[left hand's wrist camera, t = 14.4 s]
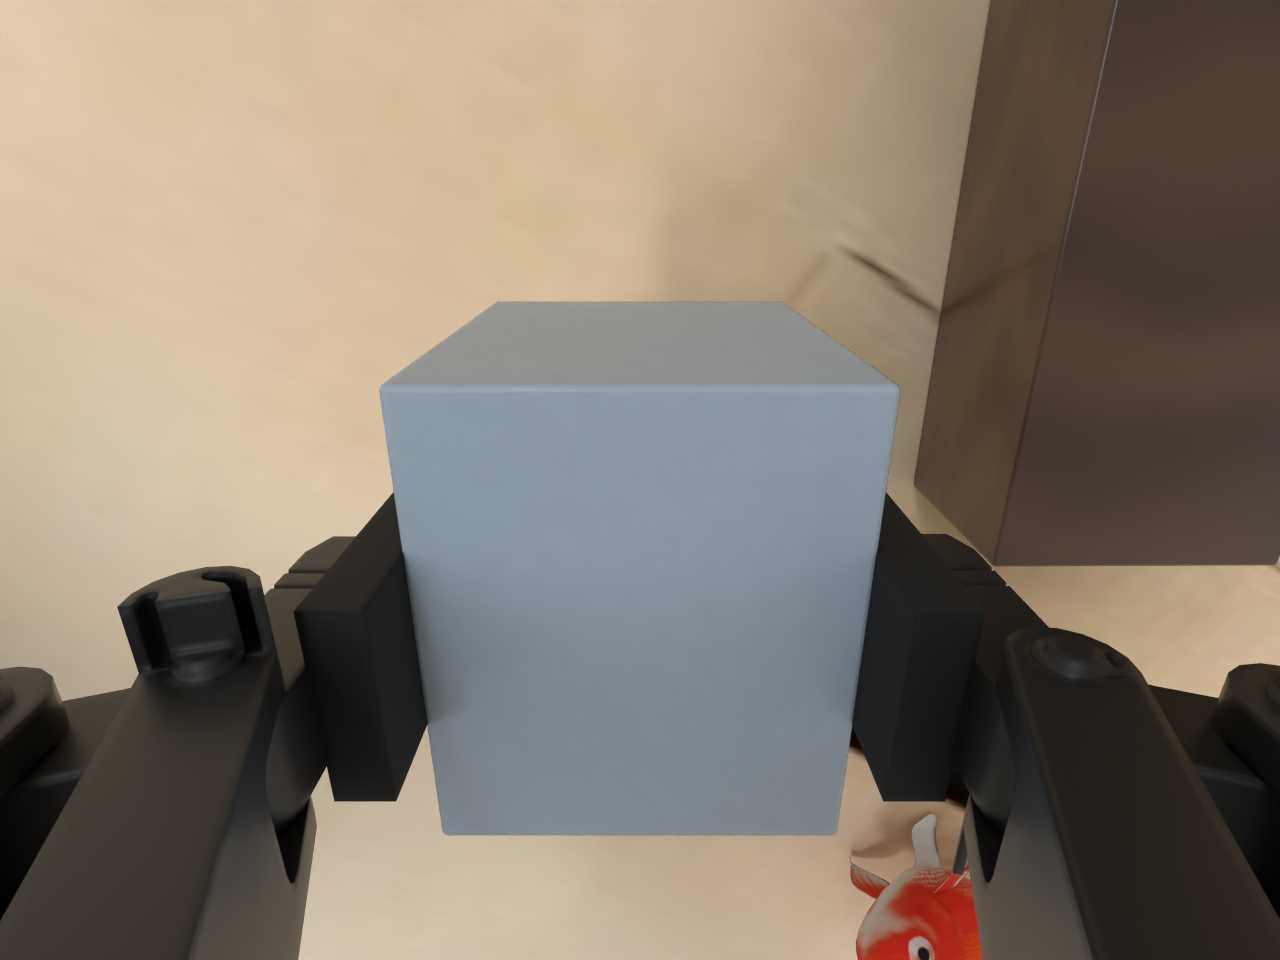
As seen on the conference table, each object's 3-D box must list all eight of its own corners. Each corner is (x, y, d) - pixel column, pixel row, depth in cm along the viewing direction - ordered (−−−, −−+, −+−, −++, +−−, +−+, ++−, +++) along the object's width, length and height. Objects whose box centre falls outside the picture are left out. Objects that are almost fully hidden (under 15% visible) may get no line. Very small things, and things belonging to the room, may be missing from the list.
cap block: (762, 594, 17) (838, 838, 10) (516, 594, 17) (440, 838, 10) (785, 301, 14) (904, 384, 8) (494, 301, 14) (375, 384, 8)
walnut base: (1134, 485, 25) (1277, 566, 19) (912, 485, 25) (992, 567, 19) (1488, -750, 15) (2016, -1337, 9) (1108, -753, 15) (1404, -1348, 9)
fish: (1028, 757, 23) (1206, 1166, 18) (1156, 790, 33) (1300, 1064, 27) (777, 830, 29) (847, 1156, 23) (947, 840, 39) (1028, 1075, 33)
